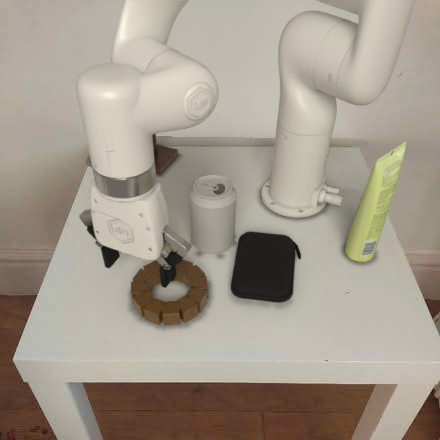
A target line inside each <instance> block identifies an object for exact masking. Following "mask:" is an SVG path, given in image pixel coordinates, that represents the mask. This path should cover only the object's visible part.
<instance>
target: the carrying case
mask: <svg viewBox="0 0 440 440" xmlns="http://www.w3.org/2000/svg"><path fill="white" fill-rule="evenodd" d="M237 241H238V242H237V247H236V253H235V258H234V263H233V270H232V276H231V281H230V291H231V293H232V295H233V296H234V297H236V298H238V299H243V300H251V301H260V302H268V303H269V302H270V303H277V304H278V303H279V304H280V303H281V304H282V303H285V302H287V301H288V300H290V299H291V298H292V297H293V295H294V282H295V281H294V280H295V265H296V256H297V258H298V260H301V259H302V253H301V249H300V248H299V245H298V243H296V242H295V241H294V240H293V239H292V238H291V237H290V236H289V235H286V234H281V233H280V234H278V233H271V232H261V231H252V230H251V231H245V232H244V233H242V234H241V235H240V236H239V238H238V240H237Z"/></svg>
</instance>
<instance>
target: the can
mask: <svg viewBox="0 0 440 440" xmlns="http://www.w3.org/2000/svg"><path fill="white" fill-rule="evenodd" d="M188 193H189V194H188V200H189V216H190V217H189V220H190V234H191V235H190V238H191V239H190V240H191V244H192V246H194V247H195V249H197V250H198V251H200V252H201V253H205V254H209V255H218V254H222V253H224V252H226V251H228V250H229V249H231V248H232V247H233V245H234V243H235V236H236V235H235V234H236V215H237V214H236V213H237V211H236V210H237V191H236V188H235V187H234V184H233V182H232V181H231V179H229V178H228V177H225V176H224V175H219V174H205V175H202V176H200V177H198V178H196V179H195V181H194V182H193V184H192V187H191V189H190V190H189V192H188Z"/></svg>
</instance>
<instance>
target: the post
mask: <svg viewBox="0 0 440 440" xmlns="http://www.w3.org/2000/svg"><path fill="white" fill-rule="evenodd" d="M152 139H153V149H154V160H155V171H156V175H158V176H161V175H162V174H163V173H164V172H165V171H166V170H167V169H168V167H170V166H171V164H172V163H173V162H174V161H175V160H176V159H177V158H178V157H179V149H177V148H174V147H169V146H165V145H161V144H158V143H157V142H158V141H157V133H155V134H153V135H152Z"/></svg>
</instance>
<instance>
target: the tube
mask: <svg viewBox="0 0 440 440" xmlns="http://www.w3.org/2000/svg"><path fill="white" fill-rule="evenodd" d="M407 143H408V142H407V141H405V142H403V143H402V144H400V145H398V146H397V147H395V148H394V149H392V150H390V151H389V152H387V153H386V154H383V155H382V156H381V157H379V158H377V159H376V162H375V163H374V165H373V167H372V169H371V172H370V174H369V177H368V179H367V182H366V184H365V187H364V189H363V192H362V195H361V198H360V201H359V204H358V206H357V210H356V212H355V215H354V218H353V222H352V224H351V227H350V231H349V233H348V237H347V240H346V244H345V247H344V254H345V255H346V256H347V257H348V258H349V259H350V260H352V261H355V262H359V263H365V262H369V261H370V260H372V259H373V258H374V255H375V253H376V250H377V246H378V245H379V241H380V238H381V235H382V231H383V229H384V226H385V222H386V220H387V216H388V213H389V209H390V207H391V204H392V201H393V196H394V193H395V189H396V187H397V182H398V180H399V175H400V172H401V168H402V164H403V161H404V157H405V154H406V153H405V152H406V149H407V148H406V147H407Z"/></svg>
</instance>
